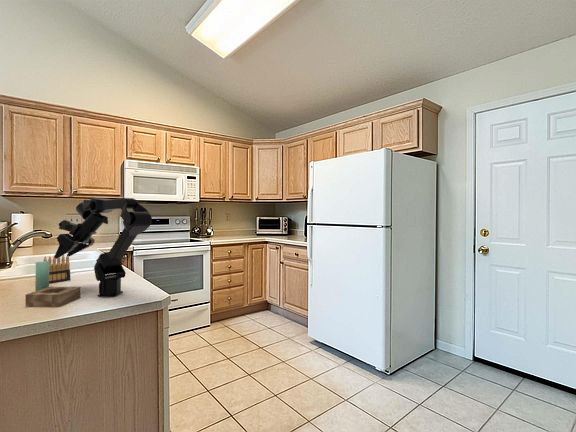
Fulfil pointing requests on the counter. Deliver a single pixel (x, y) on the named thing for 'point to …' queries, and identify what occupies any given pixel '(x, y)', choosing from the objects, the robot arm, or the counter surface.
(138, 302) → the counter surface
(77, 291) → the socket block
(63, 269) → the ammunition clip
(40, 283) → the peg
